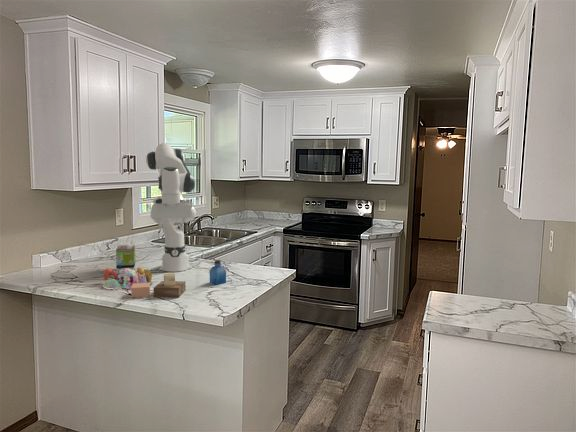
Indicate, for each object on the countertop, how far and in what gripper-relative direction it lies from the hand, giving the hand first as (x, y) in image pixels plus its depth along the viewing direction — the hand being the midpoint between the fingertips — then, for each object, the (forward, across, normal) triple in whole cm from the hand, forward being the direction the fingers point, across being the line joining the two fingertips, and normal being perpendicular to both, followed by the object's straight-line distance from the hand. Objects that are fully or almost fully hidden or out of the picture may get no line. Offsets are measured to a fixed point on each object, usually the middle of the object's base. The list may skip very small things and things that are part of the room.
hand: (171, 227), depth 224 cm
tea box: (+31, +27, -42) cm, 59 cm away
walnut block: (+32, +2, +11) cm, 33 cm away
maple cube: (+26, +2, +11) cm, 29 cm away
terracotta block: (+31, +15, +10) cm, 36 cm away
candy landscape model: (+32, +23, -12) cm, 41 cm away
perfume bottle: (+31, -23, -4) cm, 39 cm away
